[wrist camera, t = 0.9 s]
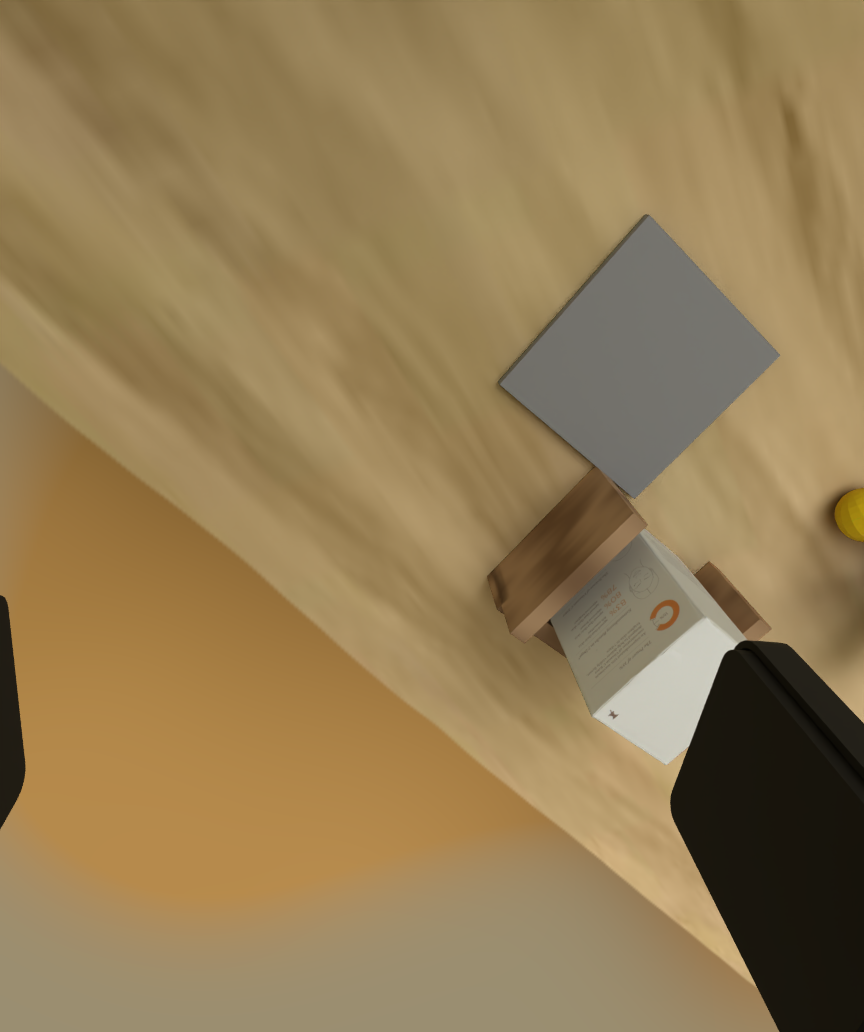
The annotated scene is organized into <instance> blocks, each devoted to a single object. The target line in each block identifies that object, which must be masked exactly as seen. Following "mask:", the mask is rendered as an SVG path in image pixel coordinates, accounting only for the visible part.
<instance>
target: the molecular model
mask: <svg viewBox="0 0 864 1032" xmlns="http://www.w3.org/2000/svg"><path fill="white" fill-rule="evenodd" d="M835 521H836V523H837V525H838V527H839V529H840V530H841V531H842V533H843V534H845V535H846V536H847V537H849V538H851V539H853V540H856V541H860V542H864V488H861V489H855V490H853V491H850V492H848V493H847V494H846V495H844V496H843V497H842V498H841V499H840V501H839V502H838V503H837V506H836V508H835Z"/></svg>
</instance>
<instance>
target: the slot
mask: <svg viewBox="0 0 864 1032" xmlns="http://www.w3.org/2000/svg"><path fill="white" fill-rule="evenodd" d="M646 526H647V523H646V522H645V521H644V519H643V518H642V517H641V516H640V514H639V513H638V512H637V511H636V509H635V508H634V507H633V506H632V504H631V503H630V502H629V501H628V499H627V498H626V497H625V496H624V494H623V493H622V492H621V491H620V489H619V488H618V487H617V486H616V484H615V483H614V482H613V481H612V479H610V478H609V477H608V476H607V475H606V474H604V473H603V472H602V471H601V470H600V469H599V468H597V467H596V466H595V467H594V468H593V469H592V470H591V471H590V472H589V473H588V474H587V475H586V476H585V477H584V478H583V479H582V480H581V481H580V482H579V483H578V484H577V485H576V486H575V487H574V488H573V489H572V490H571V491H570V492H569V493H568V494H567V495H566V496H565V497H564V498H563V499H562V500H561V502H560V503H559V504H558V505H557V506H556V507H555V508H554V509H553V510H552V511H551V512H550V513H549V514H548V515H547V516H546V517H545V518H544V519H543V520H542V521H541V522H540V523H539V524H538V525H537V526H536V527H535V528H534V529H533V530H532V531H531V532H530V533H529V534H528V535H527V536H526V537H525V538H524V539H523V540H522V541H521V542H520V544H519V545H518V546H517V547H516V548H515V549H514V550H513V551H512V552H511V553H510V554H509V555H508V556H507V557H506V558H505V559H504V560H503V561H502V562H501V563H500V564H499V565H498V566H497V567H496V568H495V569H494V570H493V571H492V572H491V573H490V574H489V575H488V576H487V578H488V581H489V585H490V588H491V591H492V594H493V598H494V601H495V604H496V608H497V610H498V611H500V612H501V613H503V614H504V615H505V618H506V622H507V625H508V628H509V631H510V634H512V635H513V636H515V637H516V638H518V639H519V640H521V641H522V642H523V643H526V642H527V641H528V640H529V639H530V638H531V637H532V636H533V635H534V636H536V637H537V638H539V639H540V640H542V641H543V642H544V643H546V644H547V645H549V646H550V647H552V648H553V649H554V650H556V651H557V652H559V653H560V654H562V655H563V656H565V657H566V655H565V653H564V650H563V648H562V646H561V643H560V641H559V639H558V637H557V634H556V632H555V629H554V627H553V625H552V623H551V620H550V619H551V618H552V617H553V616H554V615H555V614H556V613H557V612H558V611H559V610H560V609H561V608H562V607H563V606H564V605H565V604H566V603H567V602H568V601H569V600H570V599H571V598H573V597H574V596H575V595H576V594H577V593H578V592H579V591H580V590H581V589H582V588H583V587H584V586H585V585H586V584H587V583H588V582H589V581H590V580H591V579H592V578H593V577H594V576H595V575H596V574H597V573H599V572H600V571H601V570H602V569H603V568H604V567H605V566H606V565H607V564H608V563H609V562H610V561H611V560H612V559H613V558H614V557H615V556H616V555H617V554H618V553H619V552H620V551H621V550H622V549H623V548H625V547H626V546H627V545H628V544H629V543H630V542H631V541H632V540H633V539H634V538H635V537H636V536H637V535H638V534H639V533H640V532H641V531H642V530H643V529H644V528H645V527H646ZM694 576H695V577H696V579H697V580H698V581H699V582H700V583H701V584H702V586H703V587H704V588H705V589H706V590H707V592H708V593H709V594H710V595H711V597H712V598H713V599H714V600H715V601H716V603H717V604H718V605H719V606H720V607H721V609H722V610H723V611H724V612H725V613H726V615H727V616H728V617H729V618H730V620H731V621H732V622H733V623H734V624H735V626H736V627H737V628H738V629H739V630H740V631H741V633H742V634H743V635H744V636H745V638H746V639H747V640H751V641H758V640H759V639H760V638H762V637H763V636H764V635H765V634H766V633H768V632H769V631H770V630H771V629H772V628H771V627H770V626H769V625H768V624H767V623H766V622H765V621H764V619H763V618H762V617H761V616H760V615H759V614H758V613H757V612H756V610H755V609H754V608H753V607H752V606H751V605H750V604H749V603H748V601H747V600H746V599H745V598H744V597H743V596H742V595H741V593H740V592H739V591H738V590H737V589H736V588H735V587H734V586H733V584H732V583H731V582H730V581H729V580H728V579H727V578H726V577H725V575H724V574H723V573H722V572H721V571H720V570H719V569H718V568H717V567H715V566H714V565H713V564H712V563H711V562H708V563H707V564H706V565H705V566H704V567H703V568H702V569H701V570H700V571H698V572H697V573H696V574H695V575H694ZM566 658H567V657H566Z"/></svg>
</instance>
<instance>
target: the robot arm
mask: <svg viewBox="0 0 864 1032" xmlns="http://www.w3.org/2000/svg"><path fill="white" fill-rule="evenodd" d="M24 777H25V757H24V749H23V739H22V729H21V721H20V711H19V702H18V693H17V684H16V675H15V665H14V656H13V648H12V638H11V628H10V619H9V610H8V604H7V601H6V599H5V597H3V596H1V595H0V829H1V827H2V825H3V823H4V822H5V820H6V818H7V816H8V815H9V813H10V811H11V809H12V808H13V806H14V804H15V802H16V800H17V798H18V796H19V794H20V792H21V789H22V786H23V782H24ZM670 805H671V813H672V817H673V820H674V822H675V824H676V826H677V828H678V830H679V832H680V834H681V836H682V838H683V840H684V842H685V844H686V846H687V848H688V850H689V852H690V854H691V856H692V858H693V860H694V862H695V864H696V866H697V868H698V870H699V872H700V874H701V876H702V878H703V880H704V882H705V884H706V886H707V888H708V890H709V892H710V894H711V896H712V898H713V900H714V902H715V904H716V906H717V908H718V910H719V912H720V914H721V916H722V918H723V920H724V922H725V924H726V926H727V928H728V930H729V932H730V934H731V936H732V938H733V940H734V942H735V944H736V946H737V948H738V950H739V952H740V954H741V956H742V958H743V960H744V962H745V964H746V966H747V968H748V970H749V972H750V974H751V976H752V978H753V980H754V982H755V984H756V986H757V988H758V990H759V992H760V994H761V996H762V998H763V1000H764V1002H765V1004H766V1006H767V1008H768V1010H769V1012H770V1014H771V1016H772V1018H773V1020H774V1022H775V1023H776V1026H777V1028H778V1030H779V1032H864V723H863V722H862V721H861V720H860V719H859V718H858V717H857V716H856V715H855V714H854V713H853V712H852V711H851V710H850V709H849V708H848V707H847V705H846V704H845V703H844V702H843V701H842V700H841V699H840V698H839V697H838V696H837V695H836V694H835V693H834V692H833V691H832V690H831V689H830V688H829V687H828V685H827V684H826V683H825V682H824V681H823V680H822V679H821V678H820V677H819V676H818V675H817V674H816V673H815V672H814V671H813V670H812V669H811V668H810V667H809V665H808V664H807V663H806V662H805V661H804V660H803V659H802V658H801V657H800V656H799V655H798V654H797V653H796V652H795V651H794V650H793V649H792V648H791V647H790V646H788V645H787V644H784V643H777V642H764V641H751V640H744V641H741V642H739V643H738V644H737V645H736V646H735V648H734V650H729V651H727V652H726V653H725V654H724V656H723V658H722V660H721V663H720V666H719V668H718V671H717V673H716V676H715V679H714V681H713V684H712V687H711V689H710V692H709V695H708V697H707V700H706V703H705V705H704V708H703V711H702V713H701V716H700V719H699V721H698V724H697V726H696V729H695V732H694V734H693V737H692V740H691V742H690V745H689V748H688V750H687V753H686V756H685V758H684V761H683V764H682V766H681V769H680V772H679V774H678V777H677V779H676V782H675V785H674V787H673V790H672V794H671V800H670Z"/></svg>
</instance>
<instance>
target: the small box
mask: <svg viewBox="0 0 864 1032" xmlns="http://www.w3.org/2000/svg"><path fill="white" fill-rule="evenodd" d="M550 620H551V623H552V625H553V627H554V629H555V632H556V634H557V637H558V639H559V641H560V643H561V646H562V648H563V650H564V653H565V655H566V657H567V660H568V662H569V664H570V667H571V669H572V671H573V674H574V676H575V678H576V681H577V683H578V686H579V688H580V690H581V693H582V695H583V697H584V700H585V702H586V705H587V707H588V709H589V712H590V714H591V716H592V717H593V718H595V719H597V720H598V721H600V722H601V723H603V724H605V725H606V726H608V727H609V728H611V729H612V730H614V731H615V732H617V733H618V734H620V735H621V736H623V737H624V738H626V739H627V740H629V741H630V742H632V743H633V744H635V745H636V746H638V747H639V748H641V749H642V750H644V751H645V752H647V753H648V754H650V755H651V756H653V757H654V758H656V759H657V760H659V761H660V762H662V763H663V764H665V765H667V764H669V763H670V762H671V761H672V760H674V759H675V758H676V757H677V756H678V755H679V754H681V753H682V752H683V751H684V750H686V749H687V748H688V747H689V745H690V742H691V740H692V737H693V734H694V732H695V729H696V726H697V724H698V721H699V719H700V716H701V713H702V711H703V708H704V705H705V703H706V700H707V697H708V695H709V692H710V689H711V687H712V684H713V681H714V679H715V676H716V673H717V671H718V668H719V666H720V663H721V660H722V658H723V656H724V654H725V653H726V652H727V651H729V650H734V648H735V646H736V645H737V644H738V643H739V642H741V641H744V640H747V639H746V638H745V636H744V635H743V634H742V633H741V631H740V630H739V629H738V628H737V627H736V626H735V624H734V623H733V622H732V621H731V620H730V618H729V617H728V616H727V615H726V613H725V612H724V611H723V610H722V609H721V607H720V606H719V605H718V604H717V603H716V601H715V600H714V599H713V598H712V597H711V595H710V594H709V593H708V592H707V590H706V589H705V588H704V587H703V586H702V584H701V583H700V582H699V581H698V580H697V579H696V577H695V576H694V575H693V574H692V573H691V571H690V570H689V569H688V568H687V567H686V565H685V564H684V563H683V562H682V561H681V560H680V558H679V557H678V556H677V555H676V554H674V553H673V552H672V551H671V550H670V549H668V548H667V547H666V546H665V545H664V544H662V543H661V542H660V541H659V540H658V539H657V538H655V537H654V536H653V535H652V534H651V533H649V532H648V531H647V530H646V529H645V528H644V529H643V530H642V531H641V532H640V533H639V534H638V535H637V536H636V537H635V538H634V539H633V540H632V541H631V542H630V543H629V544H628V545H627V546H626V547H625V548H623V549H622V550H621V551H620V552H619V553H618V554H617V555H616V556H615V557H614V558H613V559H612V560H611V561H610V562H609V563H608V564H607V565H606V566H605V567H604V568H603V569H602V570H601V571H600V572H599V573H597V574H596V575H595V576H594V577H593V578H592V579H591V580H590V581H589V582H588V583H587V584H586V585H585V586H584V587H583V588H582V589H581V590H580V591H579V592H578V593H577V594H576V595H575V596H574V597H573V598H571V599H570V600H569V601H568V602H567V603H566V604H565V605H564V606H563V607H562V608H561V609H560V610H559V611H558V612H557V613H556V614H555V615H554V616H553V617H552V618H551V619H550Z"/></svg>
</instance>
